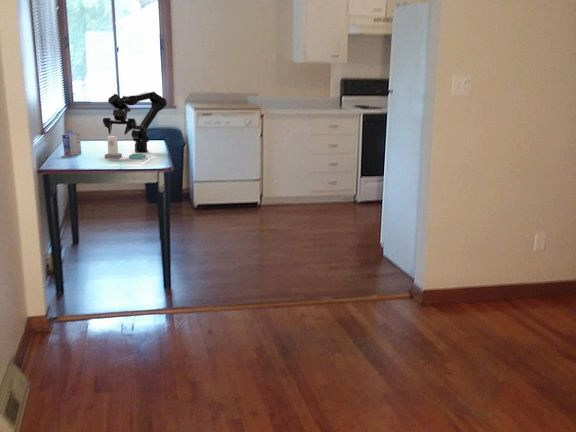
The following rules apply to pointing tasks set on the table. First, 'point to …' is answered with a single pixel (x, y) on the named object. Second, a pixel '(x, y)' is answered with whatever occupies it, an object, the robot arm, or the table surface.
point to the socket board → (126, 157)
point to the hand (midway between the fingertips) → (117, 134)
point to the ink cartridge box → (71, 143)
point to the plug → (112, 145)
